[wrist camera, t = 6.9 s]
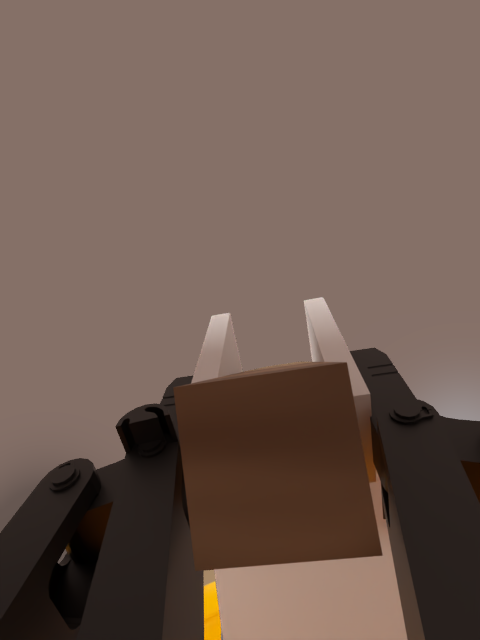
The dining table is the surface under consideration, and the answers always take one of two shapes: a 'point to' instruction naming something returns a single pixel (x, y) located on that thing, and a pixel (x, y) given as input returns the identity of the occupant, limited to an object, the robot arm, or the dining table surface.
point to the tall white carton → (315, 596)
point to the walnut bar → (275, 467)
